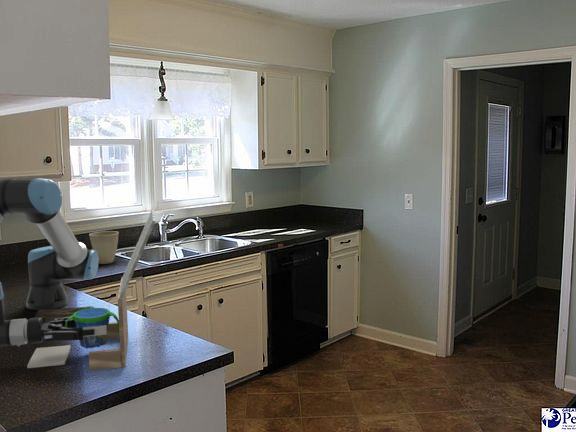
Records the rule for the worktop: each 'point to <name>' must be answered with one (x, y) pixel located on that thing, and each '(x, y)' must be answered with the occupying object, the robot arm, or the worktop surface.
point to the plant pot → (105, 245)
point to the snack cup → (92, 324)
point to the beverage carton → (58, 313)
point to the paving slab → (49, 356)
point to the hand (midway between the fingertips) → (107, 324)
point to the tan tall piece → (121, 311)
